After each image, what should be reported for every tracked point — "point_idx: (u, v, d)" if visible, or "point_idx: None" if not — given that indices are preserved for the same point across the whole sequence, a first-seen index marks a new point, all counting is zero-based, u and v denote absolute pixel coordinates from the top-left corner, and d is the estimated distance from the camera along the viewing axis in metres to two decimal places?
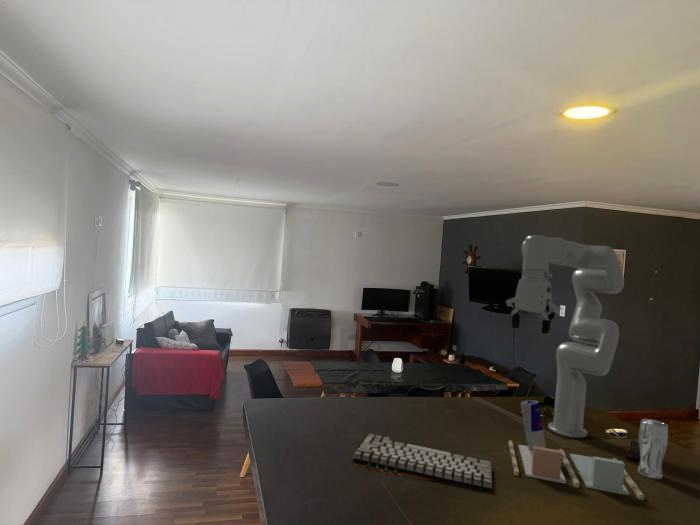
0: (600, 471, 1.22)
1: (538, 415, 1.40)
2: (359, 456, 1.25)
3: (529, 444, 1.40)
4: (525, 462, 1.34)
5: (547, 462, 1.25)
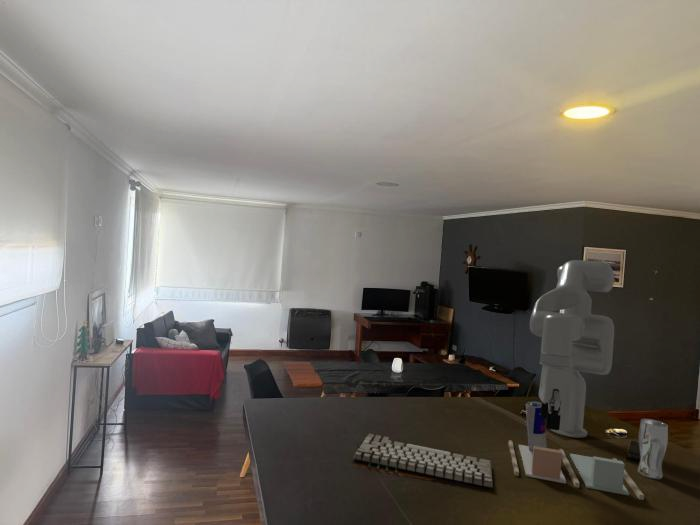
0: (600, 471, 1.22)
1: (542, 418, 1.38)
2: (359, 456, 1.25)
3: (530, 445, 1.40)
4: (525, 462, 1.34)
5: (547, 462, 1.25)
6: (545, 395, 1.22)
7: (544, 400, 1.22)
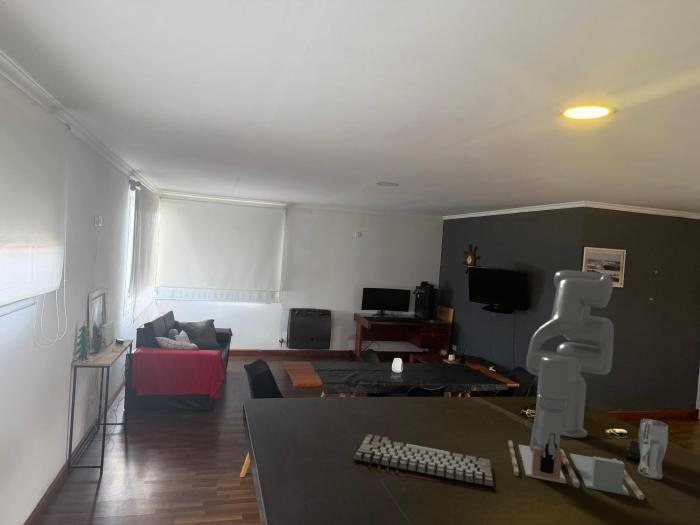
0: (600, 471, 1.22)
1: None
2: (360, 457, 1.25)
3: (532, 443, 1.40)
4: (525, 462, 1.34)
5: None
6: (541, 439, 1.22)
7: (540, 444, 1.22)
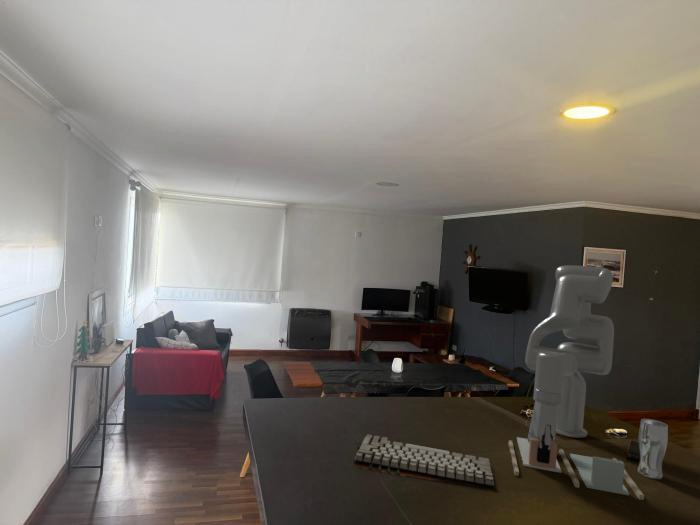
0: (600, 471, 1.22)
1: None
2: (361, 458, 1.25)
3: (529, 435, 1.47)
4: (523, 453, 1.40)
5: None
6: (538, 430, 1.29)
7: (537, 435, 1.29)
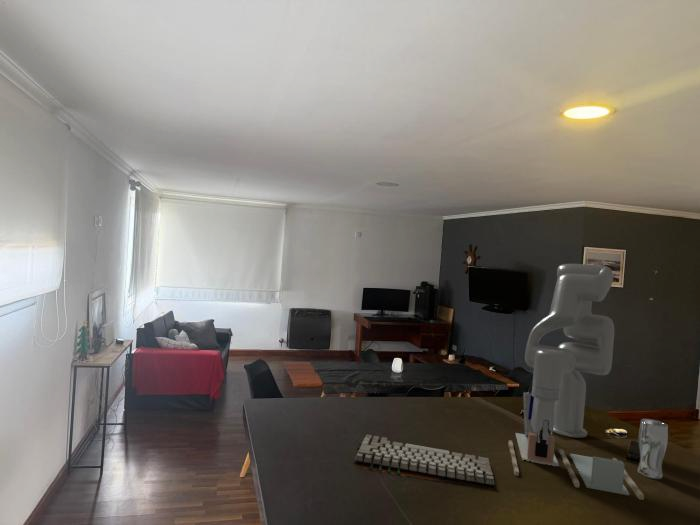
0: (600, 471, 1.22)
1: None
2: (361, 458, 1.24)
3: (526, 431, 1.51)
4: (521, 448, 1.44)
5: None
6: (536, 425, 1.33)
7: (535, 430, 1.33)
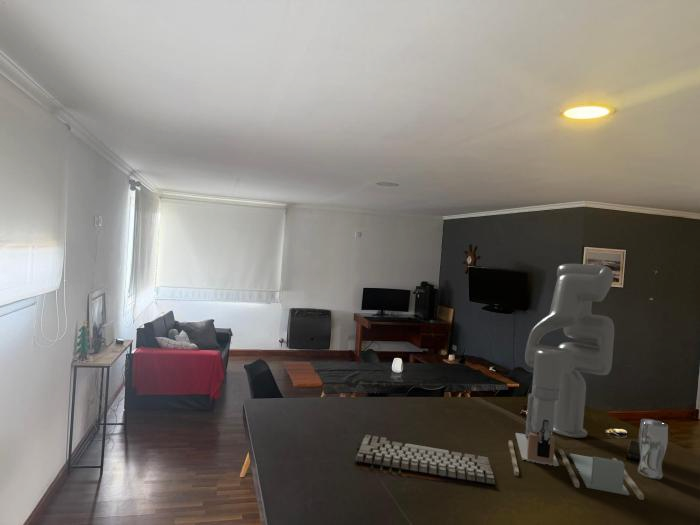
0: (600, 471, 1.22)
1: None
2: (362, 458, 1.24)
3: (526, 431, 1.51)
4: (521, 448, 1.44)
5: None
6: (536, 425, 1.33)
7: (535, 430, 1.33)
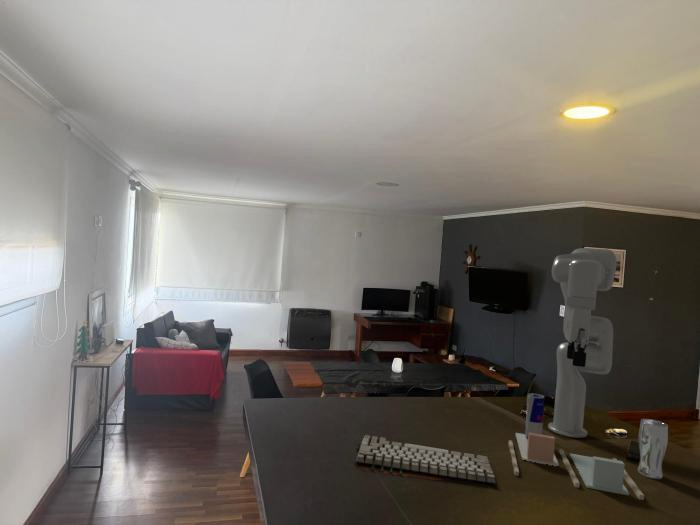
0: (600, 471, 1.22)
1: (539, 409, 1.49)
2: (362, 459, 1.24)
3: (526, 432, 1.51)
4: (521, 448, 1.44)
5: (541, 447, 1.36)
6: (571, 334, 1.29)
7: (570, 339, 1.29)
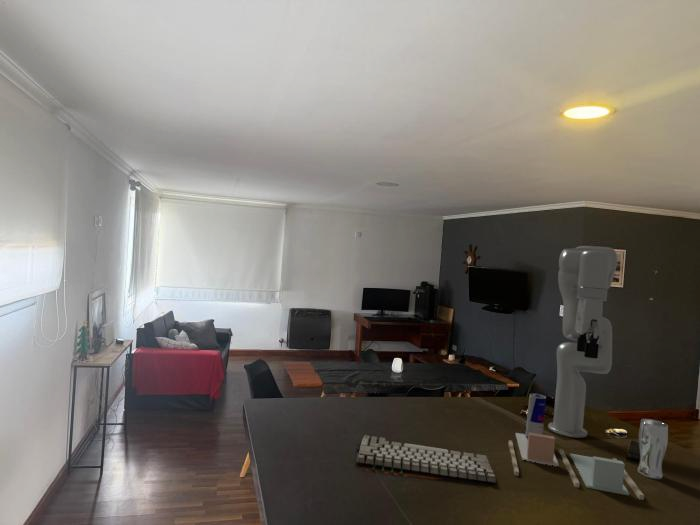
0: (600, 471, 1.22)
1: (541, 409, 1.49)
2: (363, 460, 1.23)
3: (526, 431, 1.51)
4: (521, 448, 1.44)
5: (541, 447, 1.36)
6: (583, 326, 1.28)
7: (582, 330, 1.28)
